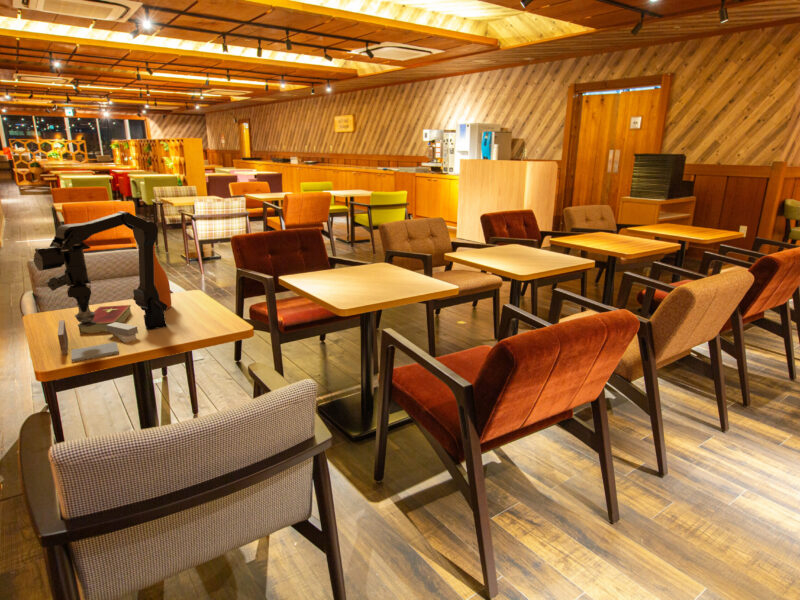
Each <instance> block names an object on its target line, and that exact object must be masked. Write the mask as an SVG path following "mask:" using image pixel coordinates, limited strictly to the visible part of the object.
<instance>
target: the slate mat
mask: <svg viewBox="0 0 800 600" xmlns="http://www.w3.org/2000/svg"><path fill="white" fill-rule="evenodd" d="M118 348H119V347H118V343H117V341H114V342H108V343H102V344H97V345H92V346H86V347H80V348H79V347H78V348H74V349H71V352H70V353H71V358H70V359H71V363H74V362H73V361H76V362H80V361H79V360H81V361H85V360H84V359H87V360H90V359H89V358H92V359H96V358H95V357H98V358H102V357H101V356H103V357H107V355H109V356H113V355H112V354H114V355H118V353H119V352H120V351H119V349H118Z"/></svg>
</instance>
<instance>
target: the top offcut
mask: <svg viewBox="0 0 800 600" xmlns="http://www.w3.org/2000/svg"><path fill="white" fill-rule="evenodd" d="M106 332H108V333H112V334H113V333H117V334H121V335H126V336H131V335H134V334H135V335H137V334H138V333H139V330H138V326H137V325H136V326H135V325H131V324H127V323H124V322H123V323H118V322H114V323H111V324H108V325H107V331H106Z"/></svg>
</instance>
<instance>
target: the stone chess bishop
mask: <svg viewBox="0 0 800 600" xmlns="http://www.w3.org/2000/svg"><path fill="white" fill-rule="evenodd" d="M89 304H90V302H89V303H88V307H87V311H86V312H82V310H81V308H80V306H79V304H78V302H77V303H76V306H77V307H78V313H76V314H74V317H75V319H76V320H77V321H78V324H77V327H78V328H79V327H89V326H93V325H95V324H96V322H94V321H92V320H93V319H94V316H95V312H94V311H91V309H90V305H89Z"/></svg>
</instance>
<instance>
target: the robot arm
mask: <svg viewBox="0 0 800 600" xmlns="http://www.w3.org/2000/svg"><path fill="white" fill-rule="evenodd" d="M120 226H124V227H126V228H127V229H130V230H131V231H132V234H133V237H134V240H135V243H136V245H137V246H138V274H139V275H138V276H139V277H138V278H139V284H138V286H137V289H136V288H133V289H132V290H133V298H132V300H133V301H134V304H136V306H137V307H140V309H141V310H142V311H144V314H143V320H144V326H145V328H147V330H154V329H160V328H166V327H168V326H167V325H168V324H167V322H166V316H165V312H167V310H168V309H167V305H166V304H165V303H163V302H161V301H160V298H159V293H158V291H157V289H156V287H155V285H154V253H153V246H154V244H155V243H156V242H157V240H158V235H159V227H158V225H157V224H156V223H155V222H153V221H150V220H145V219H142V218H140V217H138V216H136V215H135V214H132V213H131V212H128V211H121V210H120V211H118V212H116V213H112V214H109V215H106V216H102V217H99V218H97V219H93V220H89V221H86V222H81V223H79V222H78V223H67V224H60V225H59V226H58V227H57V228H56V230H55V234H54V235H55V236H54V237H53V240H52V241H51V243H50V245H49V246H48V247H36V248H35V249H34V255H33V264H34V265H35V267H36V269H37V270H38V271H41V272H42V271H47V270H53V269H58V268H62V267H63V266H64V270H63V272H62V273H59V274H57V275H54V276H52V277H49V278H47V279H46V281H45V283H46V285H47V287H48V288H49V289H50V290H51V292H52V291H56V290H57V289H59V288H61V287H64V286H65V285H66V286H67V290H66V293H67V298H73V299H75V300H76V302H77V303H78V304H79V306H80V308H81V310H82V312H86V311H87V307H88V305H89V304H90V299H91V295H92V285H89V284H92V280H91V276H89V274H88V266H87V264H86V257H85V254H84V253H85V252H84V250H90V249H91V247H90V246H89V245H87V244H86V243H85V242H84V241H86V240H88V239H89V238H90V237H92V236H94V235H96V234H98V233H101V232H106V231H108V230H112V229H114V228H117V227H120ZM88 303H89V304H88Z"/></svg>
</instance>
